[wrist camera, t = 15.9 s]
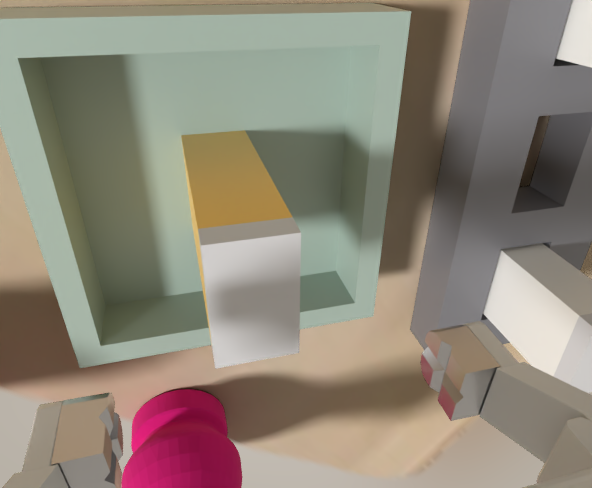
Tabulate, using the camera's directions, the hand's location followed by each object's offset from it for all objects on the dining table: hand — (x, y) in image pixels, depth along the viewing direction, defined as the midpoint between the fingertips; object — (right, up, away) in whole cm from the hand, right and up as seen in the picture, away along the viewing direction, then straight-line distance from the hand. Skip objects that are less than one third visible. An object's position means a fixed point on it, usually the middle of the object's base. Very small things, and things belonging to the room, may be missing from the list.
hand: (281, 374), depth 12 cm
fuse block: (+14, +9, +16) cm, 23 cm away
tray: (-4, +7, +12) cm, 14 cm away
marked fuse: (-4, +6, +11) cm, 14 cm away
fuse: (+14, +2, +20) cm, 25 cm away
